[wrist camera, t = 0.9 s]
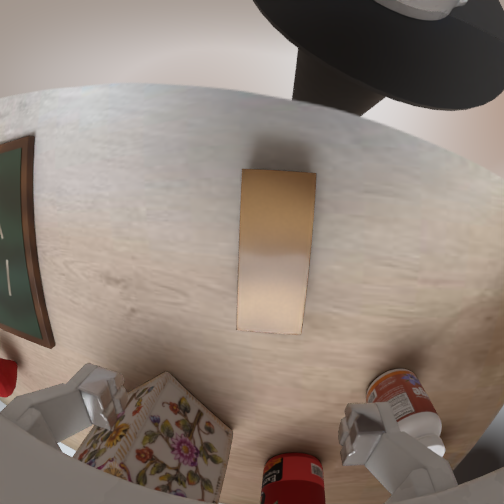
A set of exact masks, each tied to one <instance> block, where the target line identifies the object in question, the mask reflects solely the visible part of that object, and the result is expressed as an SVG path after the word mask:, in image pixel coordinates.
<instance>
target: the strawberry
mask: <svg viewBox="0 0 504 504" xmlns="http://www.w3.org/2000/svg"><path fill="white" fill-rule="evenodd" d="M17 368H18V366H17V363H16V362H15V361H12V360H6V359H2V358H0V397H8V396H10V395H11V394H12V393H13V391H14V389H15V387H16V380H17Z"/></svg>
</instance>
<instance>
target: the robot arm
mask: <svg viewBox="0 0 504 504" xmlns="http://www.w3.org/2000/svg"><path fill="white" fill-rule="evenodd" d="M374 1H376V2H377V3H379V4H381V5H383V6H384V7H386V8H388V9H390V10H393V11H395V12H397V13H400V14H402V15H405V16H408V17H412V18H416V19H420V20H439V19H443V18H445V17H446V16H448V15H449V14H450V12H451V11H452V9H453V8H454V7H458V6H463V5H465V4H466V3H467V1H468V0H374ZM124 382H125V381H124V377H123V375H122V374H121V373H119V372H116V371H113V370H109V369H106V368H103V367H100V366H97V365H94V364H91V363H87V364H85V365H84V366H83V367H82V368H81V369H80V370H79V371H78V372H77V373H76V374H75V375H74V376H73V377H72V378H71V379H70V380H69V381H68V382H67V384H63V383H62V384H59V385H55V386H52V387H49V388H45V389H42V390H39V391H35V392H32V393H28V394H24V395H21V396H17V397H16V398H14V399H13V400H12V401H11V402H10V403H9V404H8V405H7V406H6V407H5V408H4V409H3V410H2V411H1V412H0V504H215V503H209V502H204V501H199V500H194V499H189V498H185V497H181V496H177V495H173V494H169V493H165V492H161V491H158V490H154V489H151V488H148V487H145V486H141V485H138V484H135V483H132V482H130V481H127V480H124V479H121V478H119V477H116V476H113V475H111V474H108V473H106V472H103V471H101V470H99V469H96V468H94V467H92V466H89V465H87V464H85V463H83V462H81V461H79V460H77V459H75V458H73V457H70V456H68V455H67V454H65V453H63V452H62V451H61V449H60V447H59V446H58V444H57V443H58V442H60V441H62V440H64V439H66V438H68V437H70V436H72V435H74V434H76V433H78V432H80V431H82V430H84V429H86V428H87V427H89V426H91V425H92V424H93V425H96V426H99V427H102V428H104V429H107V430H110V431H111V429H112V428H113V426H114V425H115V423H116V422H117V420H118V418H117V414H119V413H122V412H123V411H124V409H125V407H126V404H127V401H128V395H127V390H126V389H125V388H124V387H123V385H122V384H123V383H124ZM344 412H345V417H344V418H343V419H341V422H340V425H339V430H338V440H339V443H340V444H341V445H342V446H343V447H342V449H341V452H340V453H341V460H342V466H348V465H365V466H366V468H367V469H368V470H369V471H370V472H371V473H372V474H373V475H374V476H375V477H376V478H377V479H378V480H379V482H380V483H381V484H382V485H383V486H384V487H385V488H386V489H387V490H388V491H389V492H390V493H391V494H392V495H391V496H390V498H389V499H388V500H387V501H386V502H385V503H384V504H504V467H502V468H500V469H498V470H496V471H493V472H491V473H489V474H486V475H484V476H482V477H479V478H477V479H474V480H471V481H469V482H466V483H463V484H460V485H458V484H457V481H456V479H455V477H454V474H453V472H452V469H451V467H450V465H449V462H448V461H447V460H445V459H444V458H442V457H441V456H439V455H438V454H436V453H435V452H433V451H432V450H430V449H429V448H427V447H426V446H425V445H423V444H422V443H420V442H419V441H417V440H416V439H414V438H413V437H412V436H410V435H409V434H407V433H406V432H404V431H403V432H401V431H400V429H399V426H398V424H397V421H396V419H395V416H394V414H393V411H392V409H391V406H390V404H389V403H388V402H375V403H348V404H347V406H346V408H345V411H344Z"/></svg>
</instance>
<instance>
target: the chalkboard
mask: <svg viewBox="0 0 504 504" xmlns="http://www.w3.org/2000/svg"><path fill="white" fill-rule="evenodd" d="M34 138H35V137H34V136H27V137H23V138H20V139H17V140H13V141H10V142H7V143H4V144H1V145H0V328H1V329H3V330H5V331H7V332H10V333H12V334H14V335H17V336H19V337H21V338H24V339H26V340H29V341H31V342H34V343H36V344H39V345H41V346H44V347H47V348H50V349H52V348H53V347H54V346H55V342H54V338H53V334H52V331H51V327H50V323H49V318H48V314H47V310H46V305H45V300H44V295H43V290H42V284H41V278H40V272H39V265H38V258H37V249H36V240H35V228H34V213H33V154H34Z"/></svg>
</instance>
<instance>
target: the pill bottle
mask: <svg viewBox="0 0 504 504" xmlns="http://www.w3.org/2000/svg"><path fill="white" fill-rule="evenodd" d="M366 402H367V403H375V402H388V403H389V404H390V406H391V409H392V411H393V414H394V416H395V419H396V421H397V424H398V426H399V429H400V431H401V432H403V431H404V432H406V433H407V434H409V435H410V436H412V437H413V438H414V439H416V440H417V441H419V442H420V443H422V444H423V445H425V446H426V447H427V448H429V449H430V450H432V451H433V452H435V453H436V454H438V455H439V456H441V457H443V455H444V453H445V447H444V444H443V442H442V440H441V438H440V437H439V436H440V433H441V429H442V424H441V420H440V418H439V416H438V414H437V412H436V410H435V409H434V407H433V405H432V403H431V401H430V399H429V397H428V396H427V394H426V392H425V391H424V389H423V387H422V385H421V384H420V382H419V380H418V378H417V377H416V375H415V374H414V373H413V372H411V371H409V370H407V369H393V370H390V371H387V372H385V373H384V374H382V375H380V376H379V377H378V378H377V379H375V380H374V381H373V383H372V384H371V385H370V387H369V388H368V391H367V394H366Z"/></svg>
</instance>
